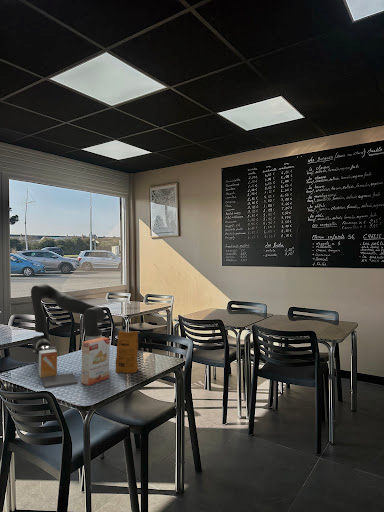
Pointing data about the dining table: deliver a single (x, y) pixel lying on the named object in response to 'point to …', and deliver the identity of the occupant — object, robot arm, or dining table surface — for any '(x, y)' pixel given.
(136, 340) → the coffee package
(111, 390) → the dining table surface
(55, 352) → the small box
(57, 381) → the mat
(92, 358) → the cracker box
